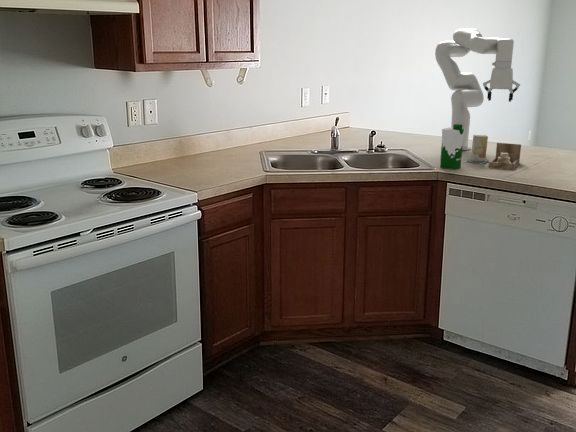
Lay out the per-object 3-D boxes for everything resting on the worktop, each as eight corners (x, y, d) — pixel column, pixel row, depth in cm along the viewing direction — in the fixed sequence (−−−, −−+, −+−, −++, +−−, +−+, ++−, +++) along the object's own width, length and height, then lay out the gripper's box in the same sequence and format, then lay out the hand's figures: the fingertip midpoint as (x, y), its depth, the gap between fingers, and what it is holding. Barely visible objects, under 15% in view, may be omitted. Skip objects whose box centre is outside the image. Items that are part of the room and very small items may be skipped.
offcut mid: (497, 162, 285) (497, 157, 284) (498, 161, 288) (499, 156, 288) (508, 163, 283) (509, 158, 282) (509, 162, 286) (510, 157, 285)
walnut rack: (488, 167, 285) (490, 148, 282) (495, 160, 300) (497, 142, 298) (513, 169, 280) (515, 150, 277) (519, 162, 295) (521, 144, 293)
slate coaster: (466, 162, 297) (466, 161, 296) (470, 159, 304) (470, 158, 304) (485, 164, 293) (485, 162, 292) (488, 160, 300) (488, 159, 300)
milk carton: (455, 170, 279) (458, 126, 274) (437, 167, 285) (440, 124, 279) (463, 167, 286) (466, 124, 280) (445, 164, 291) (448, 122, 286)
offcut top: (501, 158, 284) (501, 153, 283) (500, 156, 287) (500, 152, 286) (508, 158, 283) (508, 153, 283) (506, 157, 286) (507, 152, 286)
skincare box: (472, 161, 296) (474, 136, 293) (470, 159, 300) (472, 134, 297) (486, 161, 296) (488, 136, 293) (483, 159, 300) (486, 134, 297)
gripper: (483, 65, 297) (480, 100, 302) (520, 65, 289) (517, 102, 294) (486, 64, 303) (483, 99, 308) (523, 65, 295) (519, 101, 300)
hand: (499, 100), depth 301 cm, fingers open, 9 cm apart
